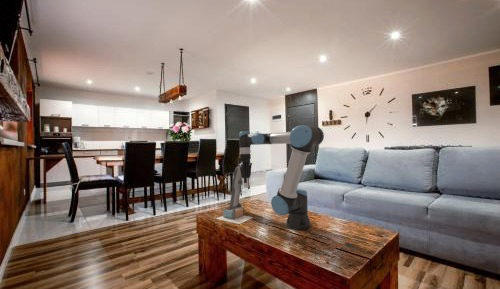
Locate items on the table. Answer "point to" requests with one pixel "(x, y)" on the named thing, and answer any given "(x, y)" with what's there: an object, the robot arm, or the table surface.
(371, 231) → the table surface
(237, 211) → the fence panel
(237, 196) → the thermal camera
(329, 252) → the table surface
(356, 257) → the table surface
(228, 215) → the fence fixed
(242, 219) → the card
